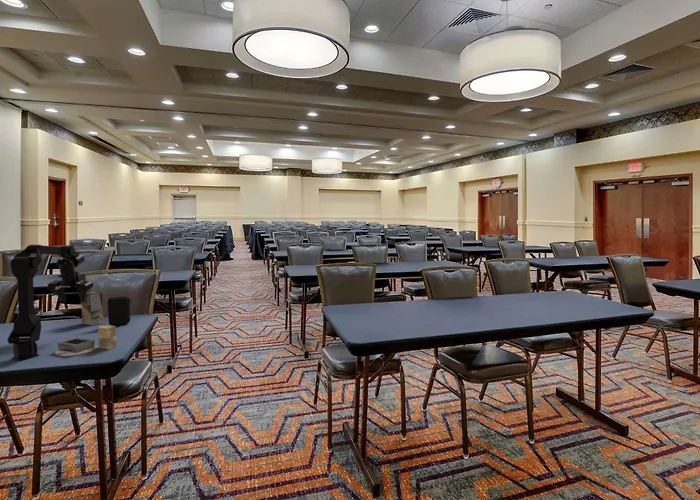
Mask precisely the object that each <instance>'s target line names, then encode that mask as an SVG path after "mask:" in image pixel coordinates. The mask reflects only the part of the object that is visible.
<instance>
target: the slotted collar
mask: <svg viewBox="0 0 700 500" xmlns="http://www.w3.org/2000/svg"><path fill="white" fill-rule="evenodd" d="M97 349H98V345H97V344H95V339H94V340H93V339H89V338H82V337H75V338H71V339H67V340H63V341H59V342H57V349H56V351H54V354H55V356H57V357H64V358H65V357H74V356H81V355H85V354H89V353H91V352H94V351H96V350H97Z"/></svg>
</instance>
